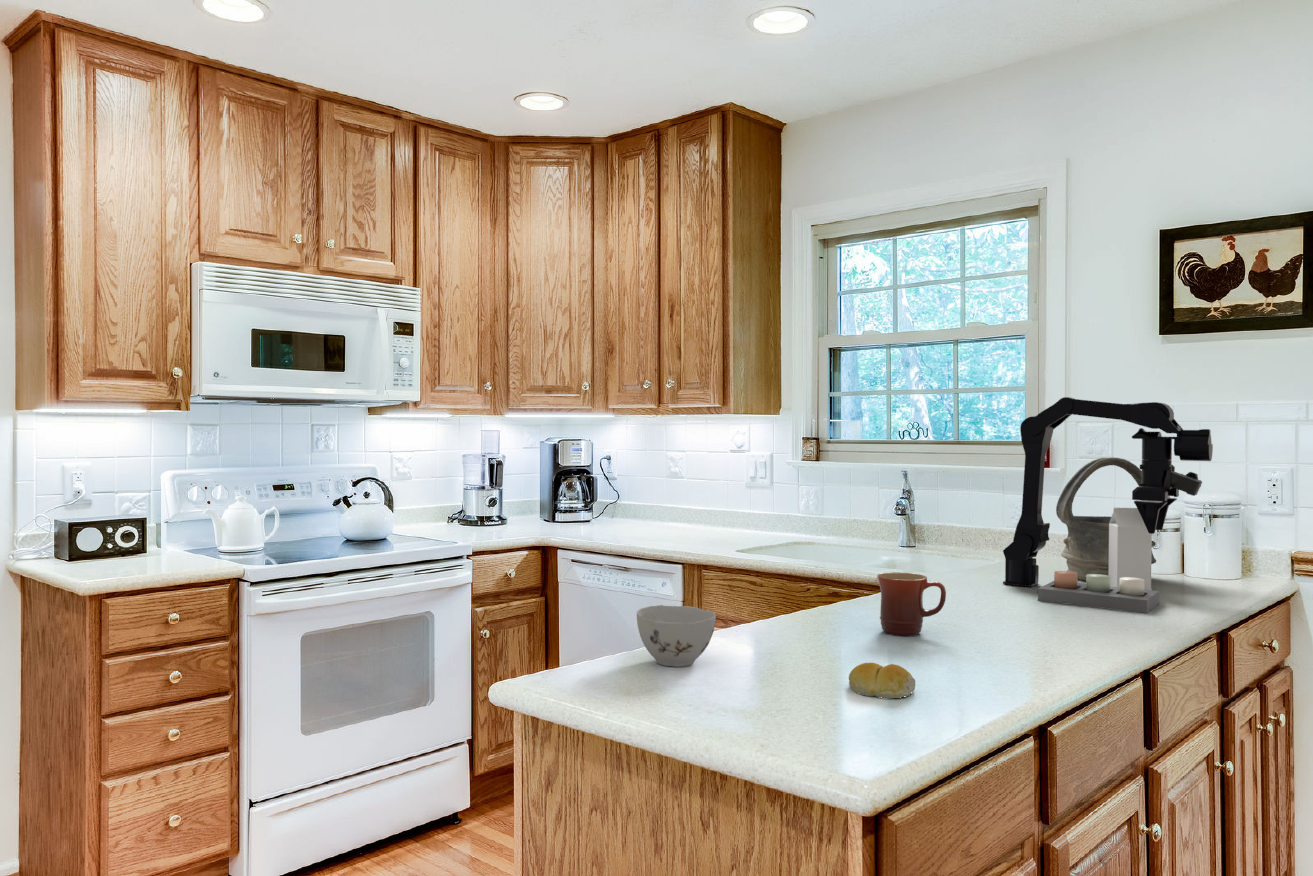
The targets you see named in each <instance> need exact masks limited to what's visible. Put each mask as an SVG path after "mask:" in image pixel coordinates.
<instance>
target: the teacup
mask: <svg viewBox="0 0 1313 876" xmlns="http://www.w3.org/2000/svg"><path fill="white" fill-rule="evenodd" d="M716 615H717V614H716V613H715V612H714V611H712V610H709V609H706V610H703V609H702V608H700V607H695V606H690V605H689V606H688V605H679V606H678V605H662V604H658V605H650V606H646V607H642V608H638V610H637V611H636V623H637V629H638V633H639V636H640V639H641V641H642V643H643V645H644V648H646V650H647V652H648V653H649V655H651V657H652V658H654V660H655V661H656V663H657V664H659V665H661V666H665V667H675V668H685V667H689V666H692V665H694V664H695V661H696V660H697V659H699V657H700V656H702V654H703V653H704V652H705V650H706V649H707V647H708V646H709V644H710V642H711V639H712V637H713V634H714V630H715V627H716V620H717V619H716V618H717V616H716Z"/></svg>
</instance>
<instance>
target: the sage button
mask: <svg viewBox="0 0 1313 876" xmlns="http://www.w3.org/2000/svg"><path fill="white" fill-rule="evenodd" d="M1085 584H1086V589H1087V590H1090V591H1098V592H1108V591H1110V576H1108V575H1101V574H1087V575H1086V581H1085Z"/></svg>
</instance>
